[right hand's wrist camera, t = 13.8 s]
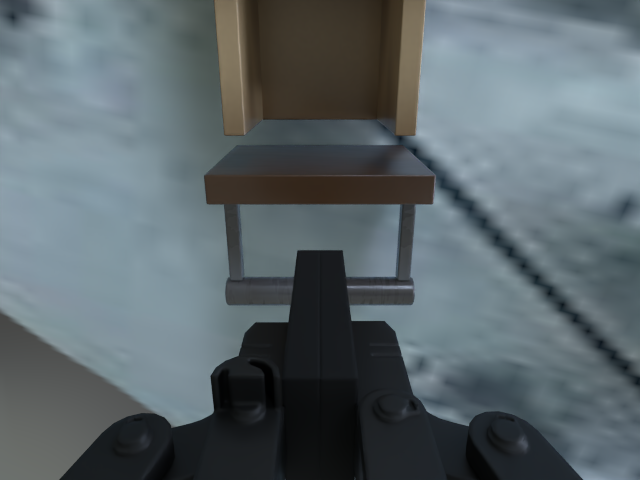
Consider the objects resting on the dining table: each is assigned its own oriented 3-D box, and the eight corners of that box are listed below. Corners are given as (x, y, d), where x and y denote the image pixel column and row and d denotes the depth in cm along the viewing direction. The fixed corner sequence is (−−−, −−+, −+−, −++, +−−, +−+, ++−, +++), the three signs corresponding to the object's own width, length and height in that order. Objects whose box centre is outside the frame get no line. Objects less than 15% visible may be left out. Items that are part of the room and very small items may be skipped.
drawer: (395, 261, 26) (421, 328, 20) (244, 262, 26) (218, 328, 20) (434, -320, 17) (507, -568, 11) (205, -320, 17) (132, -568, 11)
